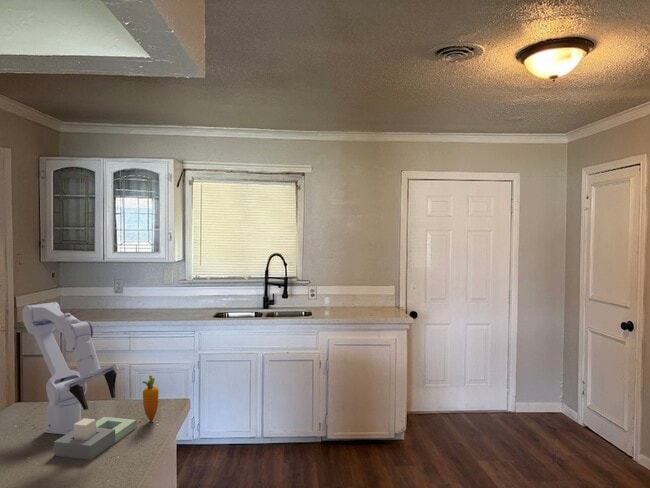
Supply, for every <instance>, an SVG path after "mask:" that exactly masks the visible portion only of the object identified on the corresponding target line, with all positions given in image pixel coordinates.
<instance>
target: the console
mask: <svg viewBox="0 0 650 488" xmlns="http://www.w3.org/2000/svg"><path fill="white" fill-rule="evenodd" d="M136 428H137V419H132V418H131V419H130V418H129V419H128V418H121V417H110V416H103V417H101V418H99V419H98V420H96V435H95V436H93V437H91V438H90V439H88V440H87V441H85V440H76V439H74V430H73V431H71V432H69V433H68V434H66V435H65V434H63V436H61V437H59V438H58V439H56V440H54V441H53V456H56V457H63V458H71V459H81V460H88V461H89V460H90V461H91V460H92V461H93V459H94V458H96V457H97V456H99V455H101V453H103V452H104V451H106V450H107V449H108V448H110V447H111V446H113V445H115V443H117V442H119V441H120V440H121V439H123V438H124V437H125V436H127V435H128V434H130V433H131V432H133V431H134V430H135V429H136Z"/></svg>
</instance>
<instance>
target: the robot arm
mask: <svg viewBox="0 0 650 488" xmlns="http://www.w3.org/2000/svg"><path fill="white" fill-rule="evenodd" d="M21 314H22V315H21V316H22V318H21V319H22V322H23V324H24V327H25V329H26V330H27V333H28V334H30V335H33V337H34V338H35V340H36V343H37V346H38V348H39V349H40V352H41V355H42V357H43V359H44V362H45V364H46V366H47V368H48V370H49V373H50V375H51V377H50V378H49V379H48V380H47V382H46V384H45V385H46V386H45V390H46V395H47V399H48V402H49V403H48V405H47V407H46V411H45V422H46V423H45V426H46V429H45V430H44V431H43V432H44V433H48V434H56V435H66V434H68V433H69V432H71V431H73V430H74V424H75V423H77V422H79V421H80V420H82V409H83V410H84V411H87V410H89V405H88V402H87V400H86V397H85V395H86V392H87V391H88V386H87V385H88V384H87V383H89V382H92V381H94V380H96V379H98V378H101V377H104V379H105V381H106V384H107V387H108V391H109V394H110V397H111V399H115V398H116V381H117V375H118V374H117V371H119V370H120V369H119V365H118V363H112V364H110V365H107V366H103V367H101V364H100V361H99V357H98V354H97V351H96V347H95V345H94V342H93V336H94V327H93V325H92V323H91V322H90V321H89V320H84V321H81V320H80V319H78V318H77V317H75V316H74V315H72V314H71V313H70V312H67V313H66V312H65V313H64V312H62V311H61V306H60V304H59V303H58V302H56V301H53V302H47V303H46V302H45V303H38V304H31V305H28V304H27V305H24V307H23V309H22V313H21ZM55 330H56V331H59V332H60V333H62V334H63V335H64V340H65V342H66V343H67V344H68V347H69V349H70V350H72V354H73V356H74V360H75V364H76V367H77V370H78V371H77V370H73V369H70V368H69V366H68V364H67V362H66V360H65V358H64V355H63V353H62V351H61V349H60V346H59V345H58V342H57V340H56V338H55V335H54V333H53V331H55Z"/></svg>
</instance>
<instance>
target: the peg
mask: <svg viewBox="0 0 650 488" xmlns="http://www.w3.org/2000/svg"><path fill="white" fill-rule="evenodd" d="M96 421H97V419H94V418H85V417H84V418H81V420H80V421H79V422H77V423H75V424H74V439H76V440H85V441H87V440H88V439H90V438H91V437H93V436H95V435H96Z"/></svg>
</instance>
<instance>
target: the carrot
mask: <svg viewBox="0 0 650 488" xmlns="http://www.w3.org/2000/svg"><path fill="white" fill-rule="evenodd" d="M148 378H149V379H148V382H147V381H145V380H142V384H145V385H146V387H145V388H144V389H143V390H142V401H143V402H142V403H143V408H144V412H145V415H146V418H147V419H148V420H149V421H150V422H153V421H154V419H155V417H156V414H157V411H158V407H159V406H158V405H159V388H158V387H157V386H155V385H154V384H155V380H156V379H155V377H153V375H149V376H148Z"/></svg>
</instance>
